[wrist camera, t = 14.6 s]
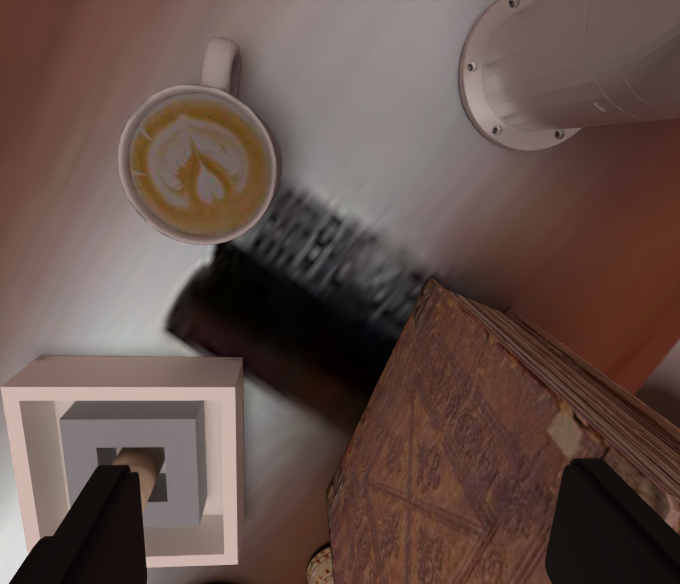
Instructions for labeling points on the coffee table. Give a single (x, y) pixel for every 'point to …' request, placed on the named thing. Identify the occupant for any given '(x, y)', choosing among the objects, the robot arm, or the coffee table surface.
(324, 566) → the seashell
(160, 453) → the peg
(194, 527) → the open box
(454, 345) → the book
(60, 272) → the coffee table surface
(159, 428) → the plate
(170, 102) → the coffee mug
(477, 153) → the coffee table surface
